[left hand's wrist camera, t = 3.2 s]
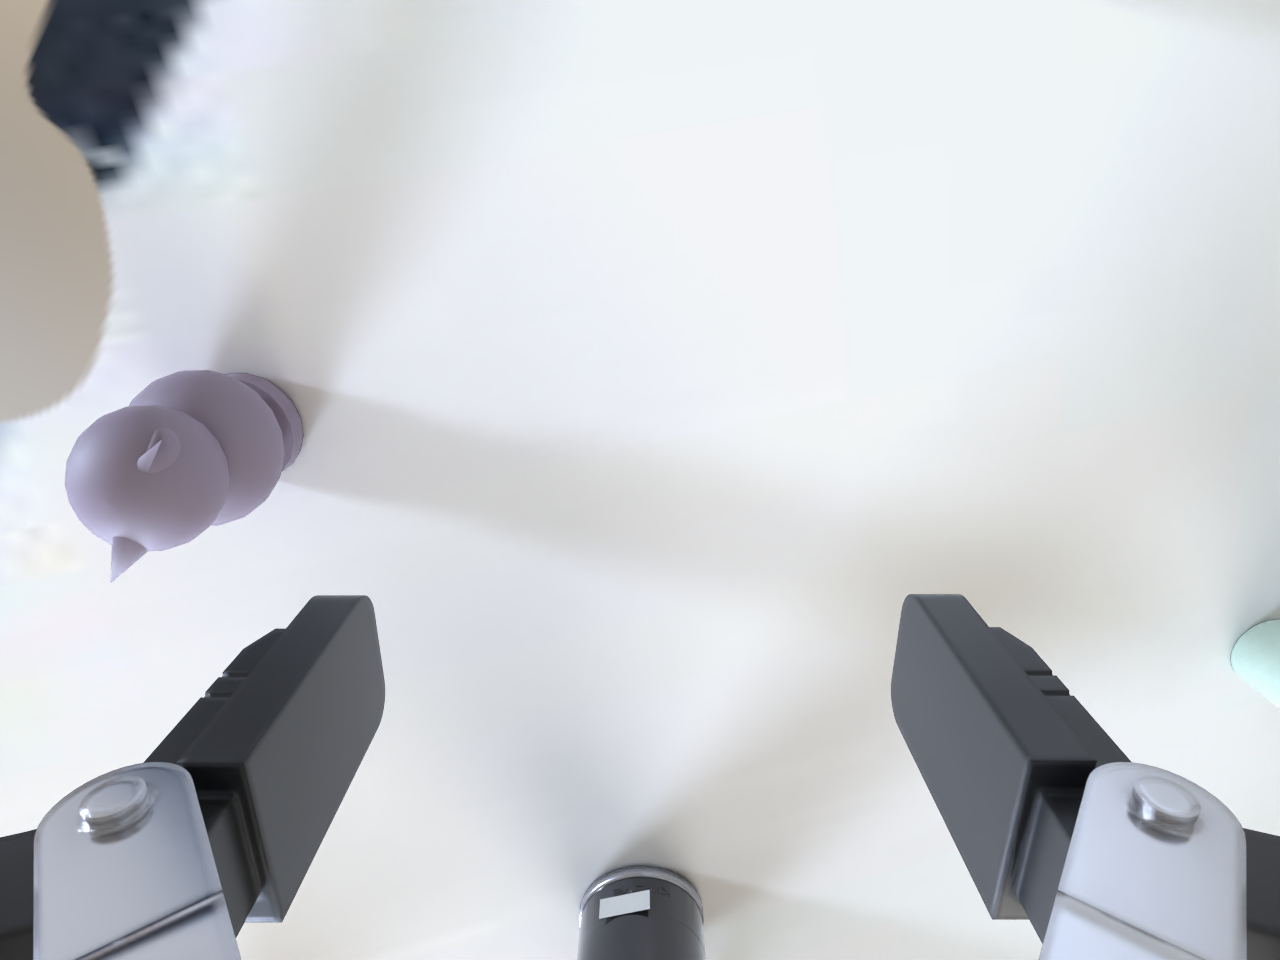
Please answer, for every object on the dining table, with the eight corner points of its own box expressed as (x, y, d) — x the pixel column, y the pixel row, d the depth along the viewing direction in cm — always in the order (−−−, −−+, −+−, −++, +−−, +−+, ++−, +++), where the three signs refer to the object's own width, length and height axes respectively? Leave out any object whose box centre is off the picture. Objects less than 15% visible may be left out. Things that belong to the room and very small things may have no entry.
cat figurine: (201, 327, 41) (38, 375, 30) (336, 392, 43) (228, 461, 31) (161, 455, 44) (-3, 543, 33) (288, 512, 45) (173, 616, 34)
